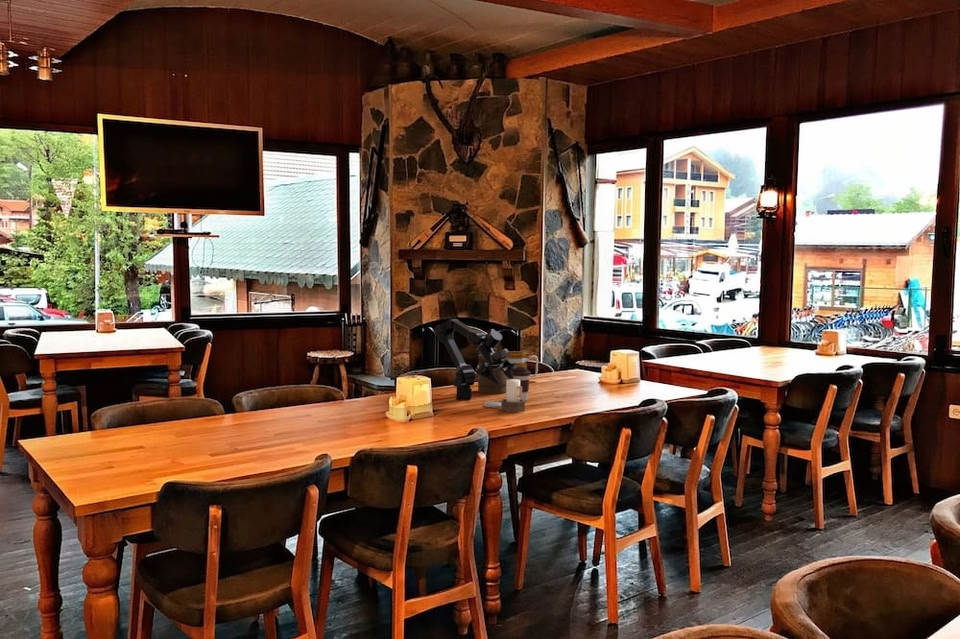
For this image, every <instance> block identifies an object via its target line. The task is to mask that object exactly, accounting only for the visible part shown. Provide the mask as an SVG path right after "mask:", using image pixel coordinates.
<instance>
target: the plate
mask: <svg viewBox="0 0 960 639" xmlns="http://www.w3.org/2000/svg"><path fill="white" fill-rule="evenodd" d="M484 406H486V407H485V408H487V407H493V408H492V409H500V408H499V407H501V401H485V402H484V403H483V407H484Z"/></svg>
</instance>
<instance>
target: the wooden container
mask: <svg viewBox="0 0 960 639" xmlns="http://www.w3.org/2000/svg"><path fill="white" fill-rule="evenodd" d="M492 349H493V350H494V352H497V351H498V349H497V347H495V348H492ZM477 356H478V363H477V364H478V366H477V369H478V368H479V367H480V366H481V364H482V363H484V362H483V360H484V359H483V357H482V355H481V354H480V353H478V355H477ZM506 360H508V357H506V358H504V359H503V362H501V364H503V363H504V362H505V361H506ZM493 372H494V374H495V376H496V378H497V379H498V382H499V383H498V384H496V383H494V382H493V381H491V380H489V379H488V378H486V377H483V376H482V375H481V376H479V374H478V373H477V375H478V376H477V386H478V387H477V390H478V392H479V393H481V392H482V393H481V394H486V393H491V394H490V395H498V394H499V393H501V394H506V380H507V379H508V377H507V376H506V375H505V374H504V372H503V371H502V370H501V369H496V370H493ZM499 395H500V394H499Z"/></svg>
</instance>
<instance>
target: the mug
mask: <svg viewBox="0 0 960 639" xmlns="http://www.w3.org/2000/svg"><path fill="white" fill-rule="evenodd" d="M508 351H509V350H508ZM527 356H528V353H527V352H525V351H520V350H519V351H515V350H513V351H509V355H508V360H514V362H515V363H516V364H515V365H514V367H525V368H527V369H528V364H527V361H530V360H531V359H532V358H535V373H534V374H533V375H532V374H530V375H529V378H535V377H537V374H538V372H539V358H538V356H537V355H534V354H533V355H530V356H529V357H528V358H527ZM514 367H513V368H514ZM508 379H509V378H508Z"/></svg>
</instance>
